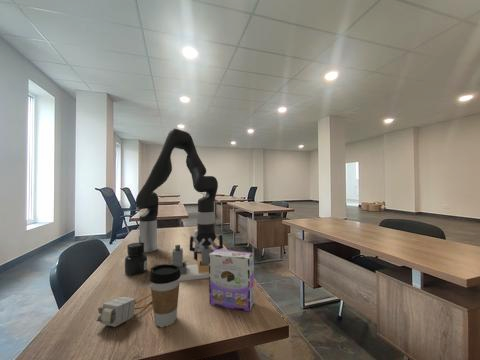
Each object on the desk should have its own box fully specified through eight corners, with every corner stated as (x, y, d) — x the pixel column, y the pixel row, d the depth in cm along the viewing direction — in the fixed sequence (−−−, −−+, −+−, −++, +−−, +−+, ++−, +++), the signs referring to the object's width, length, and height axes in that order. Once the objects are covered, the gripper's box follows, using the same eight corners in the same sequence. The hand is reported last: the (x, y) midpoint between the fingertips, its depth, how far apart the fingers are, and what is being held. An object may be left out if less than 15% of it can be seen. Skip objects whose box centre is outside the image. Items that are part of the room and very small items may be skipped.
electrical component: (153, 297, 83) (154, 283, 84) (167, 300, 81) (168, 285, 82) (95, 325, 60) (98, 304, 61) (113, 329, 58) (116, 308, 59)
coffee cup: (154, 312, 68) (154, 263, 68) (183, 311, 68) (182, 261, 68) (145, 331, 59) (145, 274, 59) (178, 329, 60) (177, 273, 60)
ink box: (209, 248, 131) (208, 228, 131) (210, 251, 126) (210, 230, 126) (194, 249, 129) (194, 229, 129) (194, 252, 124) (194, 231, 124)
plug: (202, 270, 95) (201, 245, 95) (201, 267, 99) (201, 242, 99) (211, 270, 96) (211, 244, 96) (210, 266, 100) (210, 241, 100)
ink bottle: (151, 271, 98) (150, 244, 98) (130, 278, 92) (129, 249, 92) (141, 266, 105) (141, 240, 105) (121, 271, 98) (121, 244, 98)
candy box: (254, 302, 73) (254, 252, 73) (249, 312, 67) (249, 258, 67) (216, 295, 77) (215, 248, 77) (208, 304, 72) (208, 253, 72)
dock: (162, 282, 87) (162, 250, 87) (165, 270, 99) (165, 242, 99) (221, 276, 93) (220, 246, 93) (217, 265, 104) (217, 239, 104)
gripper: (221, 219, 103) (221, 255, 103) (189, 221, 99) (189, 257, 99) (223, 222, 95) (224, 260, 95) (189, 224, 92) (189, 263, 92)
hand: (206, 259), depth 97 cm, fingers open, 8 cm apart
